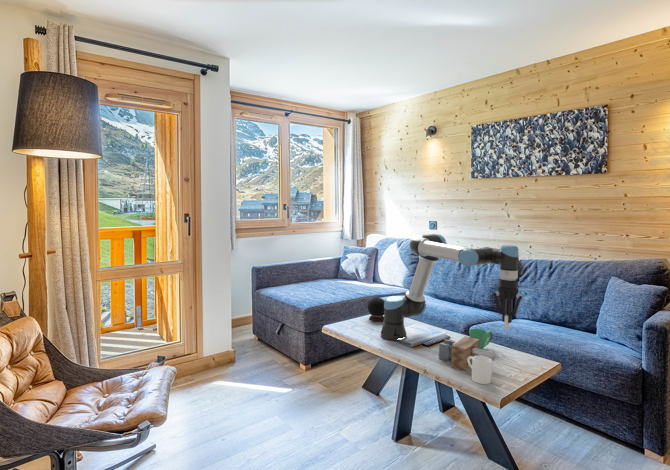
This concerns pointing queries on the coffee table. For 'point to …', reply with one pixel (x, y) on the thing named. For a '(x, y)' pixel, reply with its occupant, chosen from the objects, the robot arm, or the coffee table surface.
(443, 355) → the cradle
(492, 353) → the axle
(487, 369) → the mug
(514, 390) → the coffee table surface
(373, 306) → the black ball on base
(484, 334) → the mug
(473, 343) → the beam
